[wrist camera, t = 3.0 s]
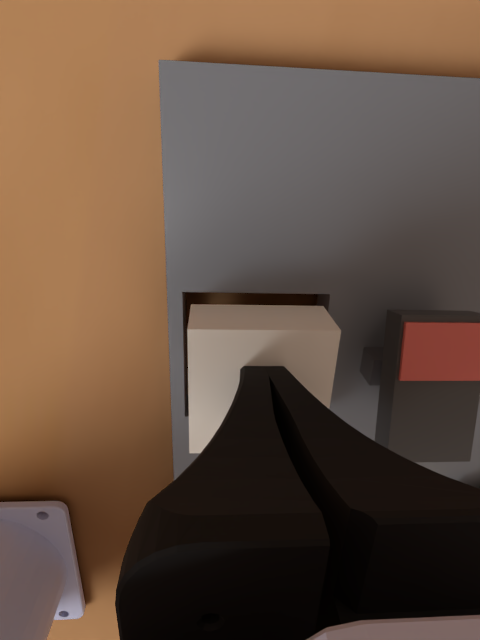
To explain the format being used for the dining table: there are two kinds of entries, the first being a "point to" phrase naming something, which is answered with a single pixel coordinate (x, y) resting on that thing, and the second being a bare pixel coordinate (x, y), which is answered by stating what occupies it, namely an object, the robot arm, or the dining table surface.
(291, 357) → the push button
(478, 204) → the switch panel
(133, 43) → the dining table surface
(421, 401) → the rocker switch
